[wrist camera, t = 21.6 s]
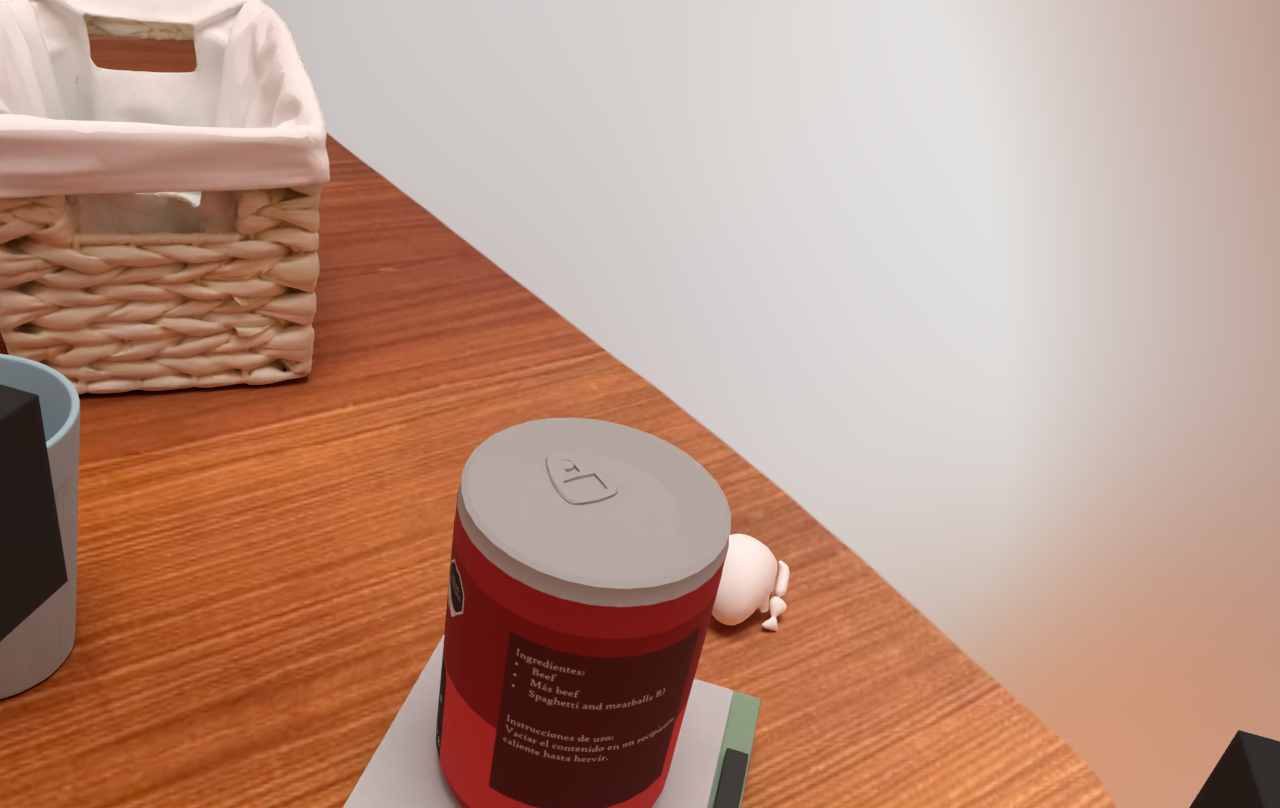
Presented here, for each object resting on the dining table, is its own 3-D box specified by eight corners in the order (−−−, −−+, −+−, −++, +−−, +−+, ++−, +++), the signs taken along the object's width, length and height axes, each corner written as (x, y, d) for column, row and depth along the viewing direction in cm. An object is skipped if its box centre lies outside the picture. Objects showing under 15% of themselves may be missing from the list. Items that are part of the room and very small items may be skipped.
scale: (748, 741, 42) (765, 686, 40) (688, 1045, 32) (708, 987, 30) (456, 653, 43) (461, 597, 42) (309, 918, 33) (309, 856, 32)
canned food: (547, 637, 41) (587, 388, 35) (713, 767, 37) (789, 510, 31) (381, 745, 35) (397, 471, 30) (555, 911, 31) (612, 632, 26)
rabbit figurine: (786, 671, 45) (631, 588, 43) (734, 675, 49) (587, 598, 46) (823, 544, 48) (679, 459, 46) (771, 556, 51) (634, 477, 49)
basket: (335, 399, 57) (339, 126, 50) (-21, 423, 51) (-79, 114, 43) (280, 215, 75) (277, -5, 68) (13, 216, 69) (-23, -27, 61)
